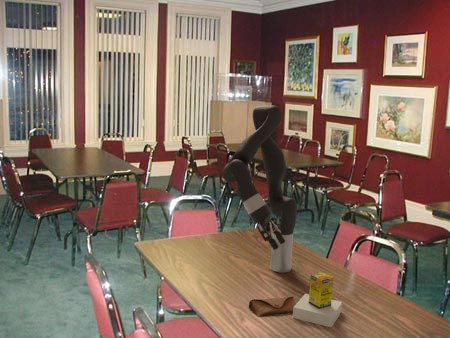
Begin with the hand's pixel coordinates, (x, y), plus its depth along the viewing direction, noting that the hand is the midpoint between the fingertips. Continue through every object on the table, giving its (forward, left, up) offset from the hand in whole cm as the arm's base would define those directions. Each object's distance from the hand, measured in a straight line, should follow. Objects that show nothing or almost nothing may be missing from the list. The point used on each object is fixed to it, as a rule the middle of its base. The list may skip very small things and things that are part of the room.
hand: (280, 245), depth 189 cm
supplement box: (+1, +17, -19) cm, 25 cm away
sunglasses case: (+6, +2, -23) cm, 24 cm away
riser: (+1, +16, -23) cm, 28 cm away
